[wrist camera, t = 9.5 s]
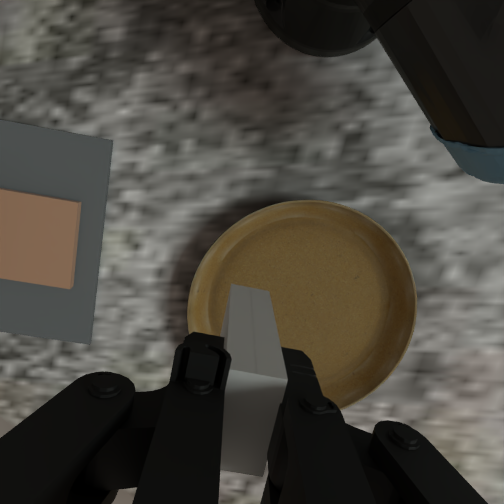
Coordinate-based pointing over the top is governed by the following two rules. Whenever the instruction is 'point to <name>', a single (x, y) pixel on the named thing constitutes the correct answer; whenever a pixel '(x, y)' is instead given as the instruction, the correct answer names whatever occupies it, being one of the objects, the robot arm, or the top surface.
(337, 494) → the robot arm
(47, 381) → the top surface
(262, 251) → the plant saucer
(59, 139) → the mat
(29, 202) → the tile
